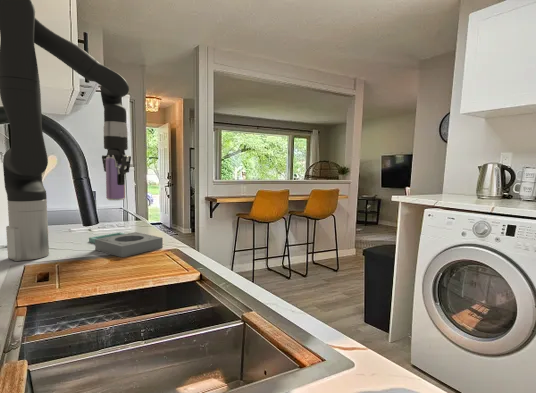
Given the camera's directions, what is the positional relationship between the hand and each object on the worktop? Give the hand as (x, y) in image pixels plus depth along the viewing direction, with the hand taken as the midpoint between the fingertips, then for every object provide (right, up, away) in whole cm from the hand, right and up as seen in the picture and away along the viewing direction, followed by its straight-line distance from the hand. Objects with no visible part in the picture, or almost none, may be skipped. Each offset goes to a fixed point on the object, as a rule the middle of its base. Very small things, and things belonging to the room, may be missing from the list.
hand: (116, 184), depth 111 cm
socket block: (+7, -22, -5) cm, 24 cm away
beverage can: (-1, -6, +1) cm, 6 cm away
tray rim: (-3, -21, +5) cm, 22 cm away
